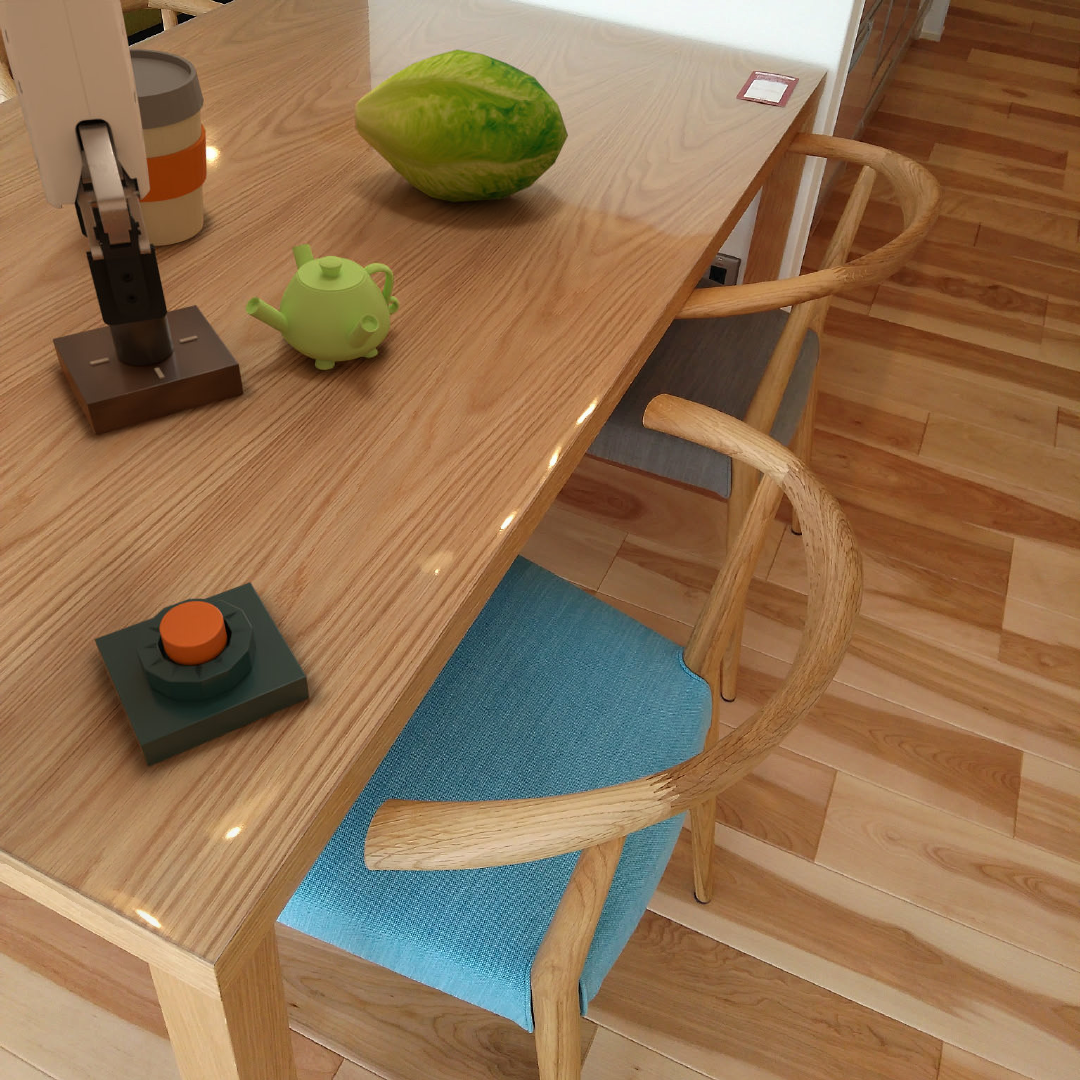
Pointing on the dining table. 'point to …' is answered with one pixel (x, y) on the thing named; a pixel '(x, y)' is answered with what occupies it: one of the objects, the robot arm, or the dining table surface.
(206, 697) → the button housing
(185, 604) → the orange push button
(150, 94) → the reusable coffee cup
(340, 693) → the dining table surface
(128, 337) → the dial
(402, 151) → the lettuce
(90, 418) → the dial panel
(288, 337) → the teapot
